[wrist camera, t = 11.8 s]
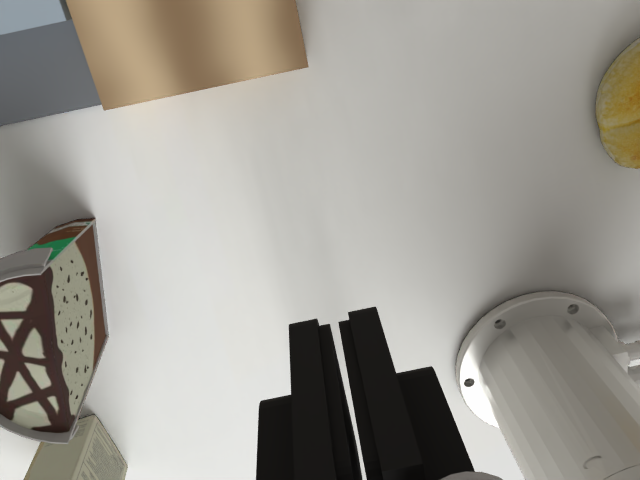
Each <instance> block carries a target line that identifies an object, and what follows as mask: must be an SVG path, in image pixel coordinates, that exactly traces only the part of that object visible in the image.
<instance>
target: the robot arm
mask: <svg viewBox="0 0 640 480" xmlns="http://www.w3.org/2000/svg"><path fill="white" fill-rule="evenodd" d="M348 315H349V320H346V321H341V322H339V328H340V333H341V339H342V345H343V350H344V356H345V361H346V367H347V372H348V378H349V384H350V389H351V395H352V400H353V406H354V412H355V417H356V423H357V428H358V434H359V440H360V445H361V451H362V456H363V462H364V467H365V472H366V477H367V480H502V479H501V478H499V477H497V476H493V475H490V474H487V473H483V472H475V471H474V468H473V466H472V463H471V461H470V458H469V456H468V453H467V451H466V448H465V446H464V443H463V441H462V438H461V436H460V433H459V431H458V428H457V426H456V423H455V421H454V418H453V416H452V413H451V411H450V408H449V406H448V403H447V401H446V398H445V396H444V393H443V391H442V388H441V386H440V383H439V381H438V378H437V376H436V373H435V371H434V369H433V367H432V366H431V367H426V368H421V369H416V370H411V371H406V372H401V373H396V372H395V368H394V365H393V362H392V358H391V355H390V352H389V348H388V345H387V342H386V338H385V335H384V332H383V328H382V325H381V322H380V318H379V315H378V312H377V308H376V307H371V308H367V309H362V310H357V311H352V312H348ZM289 343H290V371H291V395H287V396H282V397H278V398H273V399H268V400H263V401H261V402H260V404H259V420H258V445H257V470H256V480H362V474H361V468H360V462H359V456H358V451H357V445H356V440H355V435H354V431H353V426H352V422H351V417H350V413H349V408H348V404H347V399H346V395H345V390H344V386H343V381H342V377H341V372H340V368H339V363H338V359H337V354H336V350H335V345H334V341H333V336H332V332H331V327H330V324H326V325H321V326H319V323H318V320H317V319H313V320H308V321H303V322H298V323H293V324H289ZM636 359H640V340H639V341H635V342H634V343H629V344H624V343H623V342H621V341H618V339H617V335H616V333H615V330H614V328H613V326H612V324H611V323H610V321H609V320H608V319H607V318H606V316H605V315H604V314H603V313H602V312H601V311H600V310H599V309H598V308H597V307H596V306H595V305H593V304H592V303H590V302H588V301H587V300H585V299H584V298H581V297H578V296H576V295H573V294H570V293H564V292H556V291H547V292H535V293H530V294H526V295H522V296H519V297H516V298H514V299H511V300H508V301H506V302H505V303H503V304H501V305H499V306H497V307H496V308H494V309H492V310H491V311H490V312H489V313H487V314H486V315H485V316H484V317H482V318H481V319H480V320H479V321H478V322H477V323H476V325H475V326H474V327H473V328H472V329H471V330H470V332H469V333H468V335H467V336H466V338H465V340H464V341H463V343H462V345H461V348H460V351H459V353H458V356H457V362H456V381H457V384H458V388H459V391H460V393H461V395H462V397H463V399H464V401H465V404H466V405H467V406H468V407H469V409H470V410H471V411H472V413H473V414H475V415H476V416H477V417H478V418H480V419H481V420H482V421H484V422H486V423H488V424H490V425H492V426H494V427H497V428H500V430H501V432H502V434H503V436H504V438H505V440H506V442H507V444H508V446H509V448H510V450H511V452H512V454H513V456H514V458H515V460H516V462H517V464H518V466H519V468H520V470H521V472H522V474H523V477H524V479H525V480H640V365H637V366H632V367H629V366H628V365H629V364H630V361H632V360H636Z"/></svg>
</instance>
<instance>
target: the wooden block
mask: <svg viewBox="0 0 640 480" xmlns="http://www.w3.org/2000/svg"><path fill="white" fill-rule="evenodd" d="M66 2H67V5H68V8H69V11H70V14H71V17H72V20H73V23H74V26H75V28H76V31H77V34H78V37H79V40H80V43H81V46H82V49H83V52H84V54H85V57H86V60H87V63H88V66H89V69H90V72H91V75H92V77H93V80H94V83H95V86H96V89H97V92H98V95H99V98H100V101H101V103H102V106H103V109H104V110H109V109H114V108H118V107H123V106H128V105H132V104H137V103H142V102H146V101H151V100H156V99H161V98H165V97H170V96H175V95H179V94H184V93H189V92H194V91H198V90H203V89H208V88H212V87H217V86H222V85H227V84H231V83H236V82H241V81H245V80H250V79H255V78H259V77H264V76H269V75H274V74H278V73H283V72H288V71H292V70H297V69H302V68H307V67H308V62H307V57H306V52H305V47H304V42H303V37H302V32H301V26H300V21H299V16H298V11H297V6H296V1H295V0H66Z"/></svg>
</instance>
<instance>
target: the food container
mask: <svg viewBox="0 0 640 480" xmlns="http://www.w3.org/2000/svg"><path fill="white" fill-rule="evenodd" d="M108 337H109V334H108V325H107V316H106V307H105V299H104V290H103V281H102V273H101V264H100V255H99V247H98V238H97V229H96V221H95V218H90V219H77V220H74V221H71V222H68V223H65V224H63V225H60V226H57V227H55V228H54V229H53V230H52V231H50V232H49V233H48V234H46V235H45V236H44V237H43V238H41V239H40V240H39V241H38V242H36V243H35V244H34V245H33V246H31V247H30V248H29V249H28V250H26V251H21V252H17V253H14V254H11V255H9V256H6V257H3V258H1V259H0V427H2V428H4V429H6V430H7V431H10V432H12V433H15V434H17V435H20V436H22V437H25V438H29V439H33V440H36V441H41V442H48V443H55V444H68V443H69V441H70V440H72V438H73V437H74V435H75V433H76V432H77V430H78V428H79V425H76V423H77V420H78V417H79V415H80V412H81V409H82V407H83V404H84V401H85V399H86V396H87V393H88V391H89V388H90V385H91V383H92V380H93V377H94V375H95V372H96V369H97V367H98V364H99V361H100V359H101V356H102V353H103V351H104V348H105V345H106V343H107V340H108Z"/></svg>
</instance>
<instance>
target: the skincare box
mask: <svg viewBox="0 0 640 480" xmlns="http://www.w3.org/2000/svg"><path fill="white" fill-rule="evenodd" d="M76 425H79V428H78V430H77V432H76V433H75V435H74V437H73V438H72V440H70V441H69V443H68V444H55V443H48V442H41V443H40V445H39V447H38V449H37V452H36V454H35V456H34V458H33V460H32V462H31V465H30V467H29V469H28V471H27V473H26V476H25V478H24V480H125V476H126V472H127V468H128V467H127V465H126V463H125V461H124V460H123V458H122V456H121V454H120V453H119V451H118V449H117V448H116V446H115V445H114V443H113V442H112V440H111V438H110V437H109V435H108V433H107V432H106V430H105V429H104V427H103V426H102V424H101V423H100V421H99V420H98V418H97V417H96V416H95V415H91V416H88V417H85V418H82V419H78V420H77V423H76Z"/></svg>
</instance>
